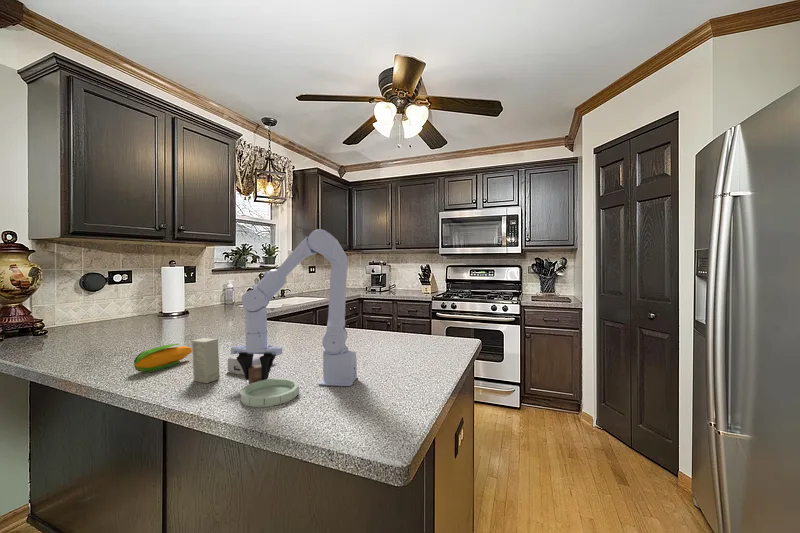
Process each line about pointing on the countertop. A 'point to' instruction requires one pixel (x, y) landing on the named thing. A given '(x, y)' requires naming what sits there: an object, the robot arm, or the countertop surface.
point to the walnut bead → (255, 373)
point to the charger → (236, 367)
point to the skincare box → (205, 360)
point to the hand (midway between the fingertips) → (257, 379)
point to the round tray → (269, 392)
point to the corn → (160, 357)
